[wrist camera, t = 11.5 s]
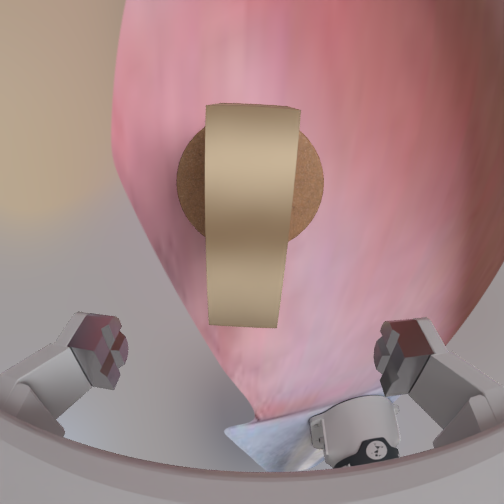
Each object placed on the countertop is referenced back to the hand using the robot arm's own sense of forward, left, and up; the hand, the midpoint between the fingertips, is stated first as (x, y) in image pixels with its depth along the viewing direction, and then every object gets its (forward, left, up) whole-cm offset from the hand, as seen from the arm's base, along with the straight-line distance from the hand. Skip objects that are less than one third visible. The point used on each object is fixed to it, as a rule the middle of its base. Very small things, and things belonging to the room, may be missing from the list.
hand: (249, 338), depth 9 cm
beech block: (0, 0, -13) cm, 13 cm away
